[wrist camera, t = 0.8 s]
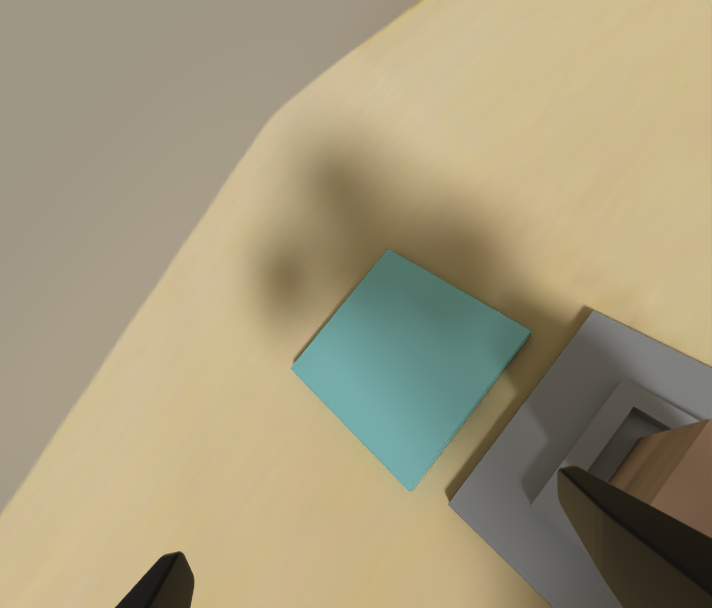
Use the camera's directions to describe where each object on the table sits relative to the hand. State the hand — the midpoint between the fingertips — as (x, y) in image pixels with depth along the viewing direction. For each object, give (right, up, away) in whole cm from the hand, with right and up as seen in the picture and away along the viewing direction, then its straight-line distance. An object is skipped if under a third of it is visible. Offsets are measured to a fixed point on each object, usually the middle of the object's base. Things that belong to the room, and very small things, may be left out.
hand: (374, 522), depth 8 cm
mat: (+3, +2, +17) cm, 17 cm away
